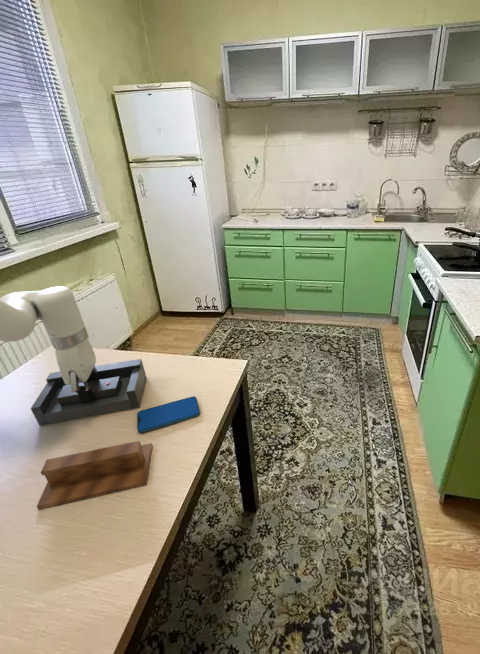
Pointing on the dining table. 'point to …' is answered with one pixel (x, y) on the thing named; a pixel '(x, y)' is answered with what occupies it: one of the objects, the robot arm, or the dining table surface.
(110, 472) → the stepped wooden stand
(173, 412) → the smartphone
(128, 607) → the dining table surface
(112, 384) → the remote
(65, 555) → the dining table surface
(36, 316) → the robot arm
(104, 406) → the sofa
